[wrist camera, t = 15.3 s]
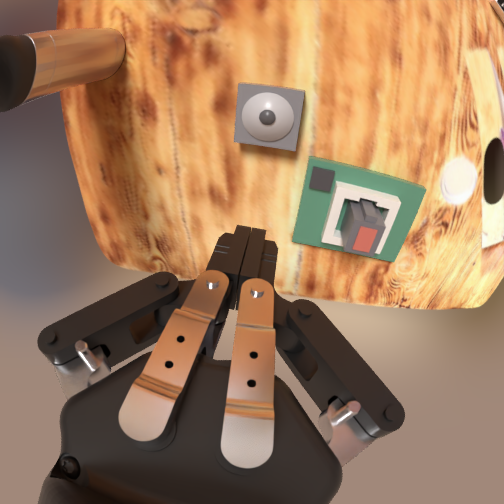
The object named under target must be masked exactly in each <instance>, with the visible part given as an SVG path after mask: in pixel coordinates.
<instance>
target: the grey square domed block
mask: <svg viewBox="0 0 504 504" xmlns="http://www.w3.org/2000/svg"><path fill="white" fill-rule="evenodd" d="M304 94H305V90H299V89H293V88H287V87H280V86H272V85H264V84H254V83H239V85H238V96H237V108H236V121H235V134H234V142H237V143H245V144H252V145H259V146H266V147H273V148H279V149H285V150H290V151H295V150H296V144H297V138H298V132H299V126H300V120H301V113H302V107H303V100H304Z"/></svg>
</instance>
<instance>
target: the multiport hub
mask: <svg viewBox="0 0 504 504" xmlns="http://www.w3.org/2000/svg"><path fill="white" fill-rule="evenodd" d="M489 2H490V4H491V5H492V7H493V8H494V10H495V11H496V13H497V14H498V16H499V17H500V19H501V20H502V22H503V24H504V0H489Z"/></svg>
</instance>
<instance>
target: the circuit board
mask: <svg viewBox="0 0 504 504" xmlns="http://www.w3.org/2000/svg"><path fill="white" fill-rule="evenodd" d="M425 192H426V189H425V187H424V186H421V185H418V184H415V183H412V182H409V181H406V180H403V179H400V178H396V177H393V176H390V175H386V174H383V173H379V172H376V171H372V170H368V169H365V168H361V167H357V166H353V165H349V164H345V163H341V162H336V161H332V160H327V159H323V158H318V157H313V156H309V160H308V165H307V170H306V175H305V180H304V185H303V190H302V195H301V200H300V205H299V210H298V214H297V219H296V224H295V228H294V233H293V237H292V242H297V243H302V244H307V245H312V246H317V247H322V248H327V249H332V250H337V251H342V252H346V251H344V249H343V242H342V235H341V228H340V226H341V223H342V220H343V217H344V214H345V210H346V207H347V204H348V200H349V199H351V200H355V201H359V200H360V198H364V199H368V200H371V202H372V204H376V206H378V208H379V211H380V213H381V216H382V218H383V221H384V223H385V226H386V228H385V231H384V233H383V236H382V238H381V240H380V243H379V245H378V247H377V250H376V252H375V254H374V256H373V257H371V258H376V259H381V260H386V261H390V262H394V261H395V259H396V257H397V255H398V253H399V251H400V249H401V247H402V245H403V243H404V241H405V239H406V236H407V234H408V232H409V230H410V228H411V226H412V223H413V221H414V219H415V216H416V214H417V212H418V209H419V207H420V204H421V202H422V199H423V197H424V194H425ZM347 253H351V252H347ZM352 254H356V253H352ZM357 255H361V254H357ZM362 256H366V255H362ZM367 257H370V256H367Z"/></svg>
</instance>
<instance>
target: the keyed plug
mask: <svg viewBox="0 0 504 504" xmlns="http://www.w3.org/2000/svg"><path fill="white" fill-rule="evenodd" d="M340 228H341V235H342V242H343V249H344V251H346V252H351V253H356V254H361V255H366V256H370V257H373V256H374V254H375V252H376V250H377V247H378V245H379V243H380V240H381V238H382V236H383V233H384V231H385V228H386V226H385V223H384V221H383V218H382V216H381V213H380V211H379V208H378V206H376V204H372V202H371V200H368V199H364V198H360V200H359V201H355V200H351V199H349V200H348V204H347V207H346V210H345V214H344V217H343V220H342V223H341V226H340Z"/></svg>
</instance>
